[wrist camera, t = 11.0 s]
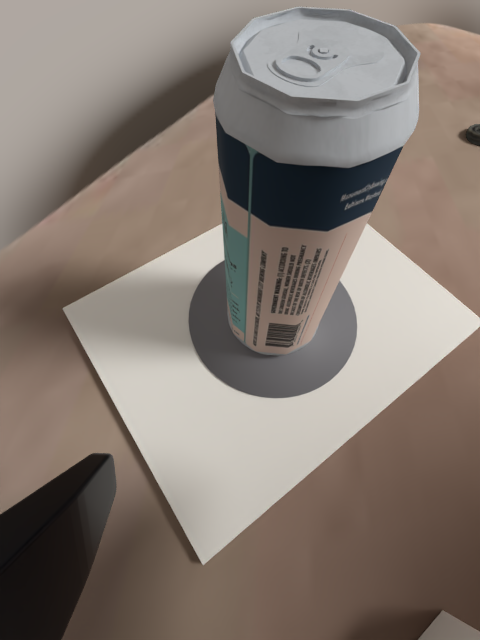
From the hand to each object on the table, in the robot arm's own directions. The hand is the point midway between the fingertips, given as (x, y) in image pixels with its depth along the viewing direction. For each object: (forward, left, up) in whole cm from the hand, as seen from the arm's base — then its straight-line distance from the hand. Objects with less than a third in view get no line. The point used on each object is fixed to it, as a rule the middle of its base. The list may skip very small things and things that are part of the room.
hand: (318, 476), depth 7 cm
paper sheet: (+5, +7, -8) cm, 12 cm away
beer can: (+5, +6, -8) cm, 11 cm away
